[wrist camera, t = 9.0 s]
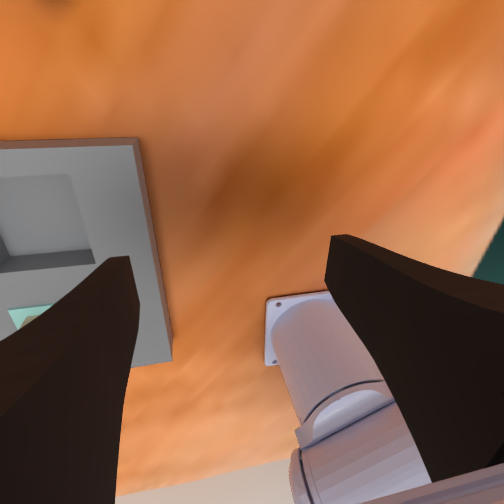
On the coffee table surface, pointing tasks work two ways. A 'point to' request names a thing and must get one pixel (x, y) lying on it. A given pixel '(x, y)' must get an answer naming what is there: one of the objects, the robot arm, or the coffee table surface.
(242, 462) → the coffee table surface
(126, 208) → the pocket board
